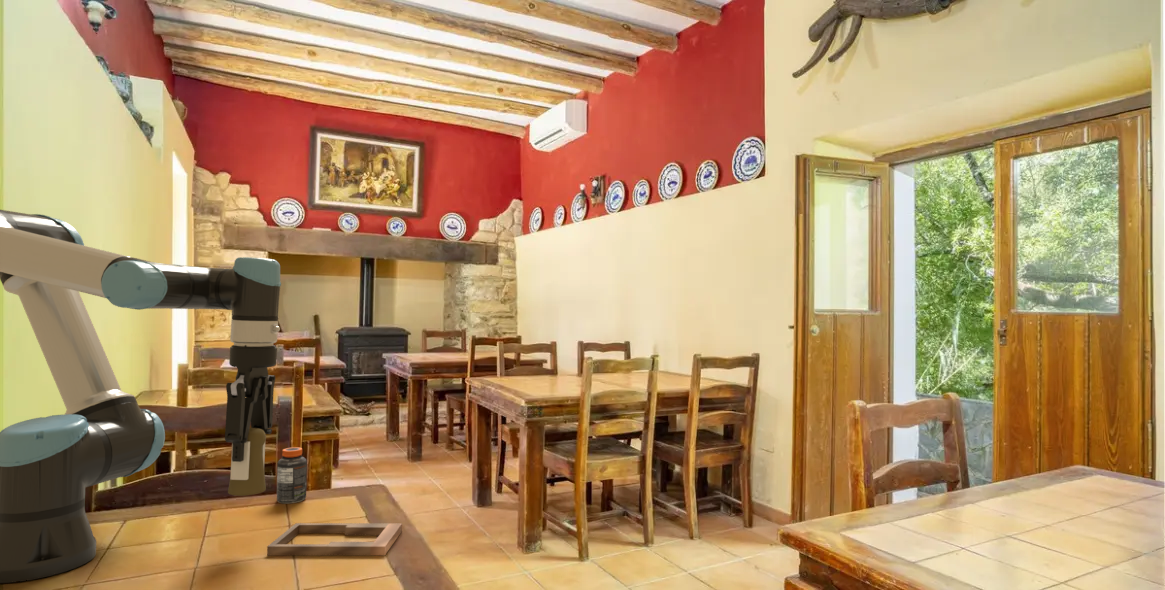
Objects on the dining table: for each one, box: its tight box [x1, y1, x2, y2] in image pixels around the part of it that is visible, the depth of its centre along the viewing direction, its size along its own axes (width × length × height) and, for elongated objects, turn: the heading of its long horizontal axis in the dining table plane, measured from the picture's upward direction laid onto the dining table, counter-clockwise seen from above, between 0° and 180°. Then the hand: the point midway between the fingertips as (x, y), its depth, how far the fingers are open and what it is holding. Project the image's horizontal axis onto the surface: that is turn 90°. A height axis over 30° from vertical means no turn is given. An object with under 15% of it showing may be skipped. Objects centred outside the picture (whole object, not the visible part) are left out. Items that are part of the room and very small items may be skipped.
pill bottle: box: [276, 446, 308, 504], centre depth 142 cm, size 6×6×11 cm
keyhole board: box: [266, 522, 403, 556], centre depth 116 cm, size 20×12×2 cm, turn 92°
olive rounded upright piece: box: [227, 427, 267, 497], centre depth 114 cm, size 6×6×11 cm
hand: (247, 474), depth 114 cm, fingers closed on olive rounded upright piece, 5 cm apart
